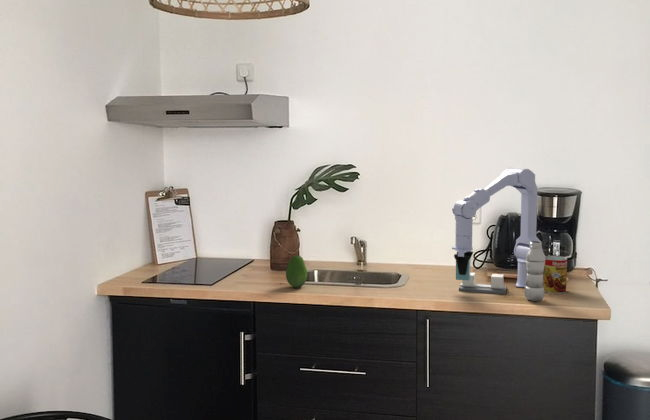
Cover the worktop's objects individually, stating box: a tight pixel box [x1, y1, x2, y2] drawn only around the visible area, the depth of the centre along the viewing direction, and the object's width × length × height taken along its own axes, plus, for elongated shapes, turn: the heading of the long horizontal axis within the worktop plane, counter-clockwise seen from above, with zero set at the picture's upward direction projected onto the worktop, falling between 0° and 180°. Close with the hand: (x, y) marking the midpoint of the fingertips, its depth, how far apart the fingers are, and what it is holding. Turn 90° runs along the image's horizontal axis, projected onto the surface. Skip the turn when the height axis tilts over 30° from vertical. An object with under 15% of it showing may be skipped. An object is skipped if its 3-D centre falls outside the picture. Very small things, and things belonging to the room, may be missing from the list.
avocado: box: [285, 255, 308, 289], centre depth 233 cm, size 8×8×12 cm
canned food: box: [543, 255, 568, 294], centre depth 224 cm, size 8×8×12 cm
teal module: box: [455, 259, 471, 281], centre depth 221 cm, size 4×4×7 cm
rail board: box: [458, 271, 508, 295], centre depth 227 cm, size 16×9×6 cm, turn 70°
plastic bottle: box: [524, 240, 546, 302], centre depth 211 cm, size 6×7×20 cm
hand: (463, 273), depth 221 cm, fingers closed on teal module, 4 cm apart
